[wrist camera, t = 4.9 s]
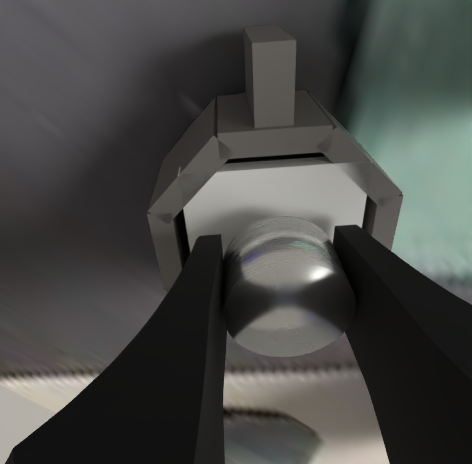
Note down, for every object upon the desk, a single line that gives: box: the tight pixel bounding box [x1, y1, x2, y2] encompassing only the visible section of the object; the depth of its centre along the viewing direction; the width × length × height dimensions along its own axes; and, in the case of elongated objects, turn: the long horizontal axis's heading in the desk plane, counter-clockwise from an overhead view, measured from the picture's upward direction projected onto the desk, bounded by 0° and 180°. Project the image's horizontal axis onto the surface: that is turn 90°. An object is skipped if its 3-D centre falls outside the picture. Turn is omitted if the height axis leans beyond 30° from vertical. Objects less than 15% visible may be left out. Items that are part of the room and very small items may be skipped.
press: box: [147, 24, 403, 293], centre depth 13 cm, size 9×7×4 cm
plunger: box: [223, 216, 356, 357], centre depth 11 cm, size 3×3×6 cm
